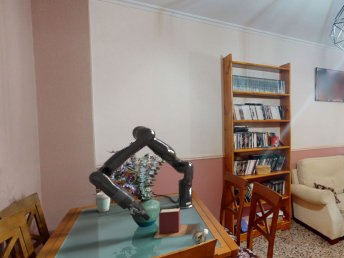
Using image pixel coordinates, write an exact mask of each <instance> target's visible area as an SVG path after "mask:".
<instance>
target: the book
mask: <svg viewBox="0 0 344 258" xmlns="http://www.w3.org/2000/svg"><path fill="white" fill-rule="evenodd" d="M180 225H181V208H179V207H178V208H166V209H160V210H159V212H158V229H159V234H168V233H178V232H179V230H180Z"/></svg>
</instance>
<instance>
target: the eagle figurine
mask: <svg viewBox="0 0 344 258" xmlns="http://www.w3.org/2000/svg"><path fill="white" fill-rule="evenodd" d="M208 234H209V229H207V228H204V229H203V230H202V229H198V230H197V229H196V232H195V233H194V234H192V238H191V239H192V240H195V241H196V242H197V243H196V246H198V245H197V244H200V243H202V242H205V243H206V242H207V235H208Z"/></svg>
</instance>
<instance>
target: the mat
mask: <svg viewBox="0 0 344 258" xmlns="http://www.w3.org/2000/svg"><path fill="white" fill-rule="evenodd" d="M199 226H200V223H189V224H180V230H179V232H178V233H168V234H159V228H158V229H157V230H156V232H155V234H154V237H153V239H159V238H160V239H161V238H170V237H179V236H180V237H181V236H182V237H183V236H191V235H193V234H194V233H195V232H196V229H197V230H198V231H199Z"/></svg>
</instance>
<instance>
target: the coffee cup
mask: <svg viewBox="0 0 344 258" xmlns="http://www.w3.org/2000/svg"><path fill="white" fill-rule="evenodd" d="M95 199H96V205H97V211H98V213H105V212H108V211H109V210H110V205H111V198H109V197H108V196H107V195H106V194H104V193H103V191H99V192H98V193H96V195H95Z"/></svg>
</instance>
